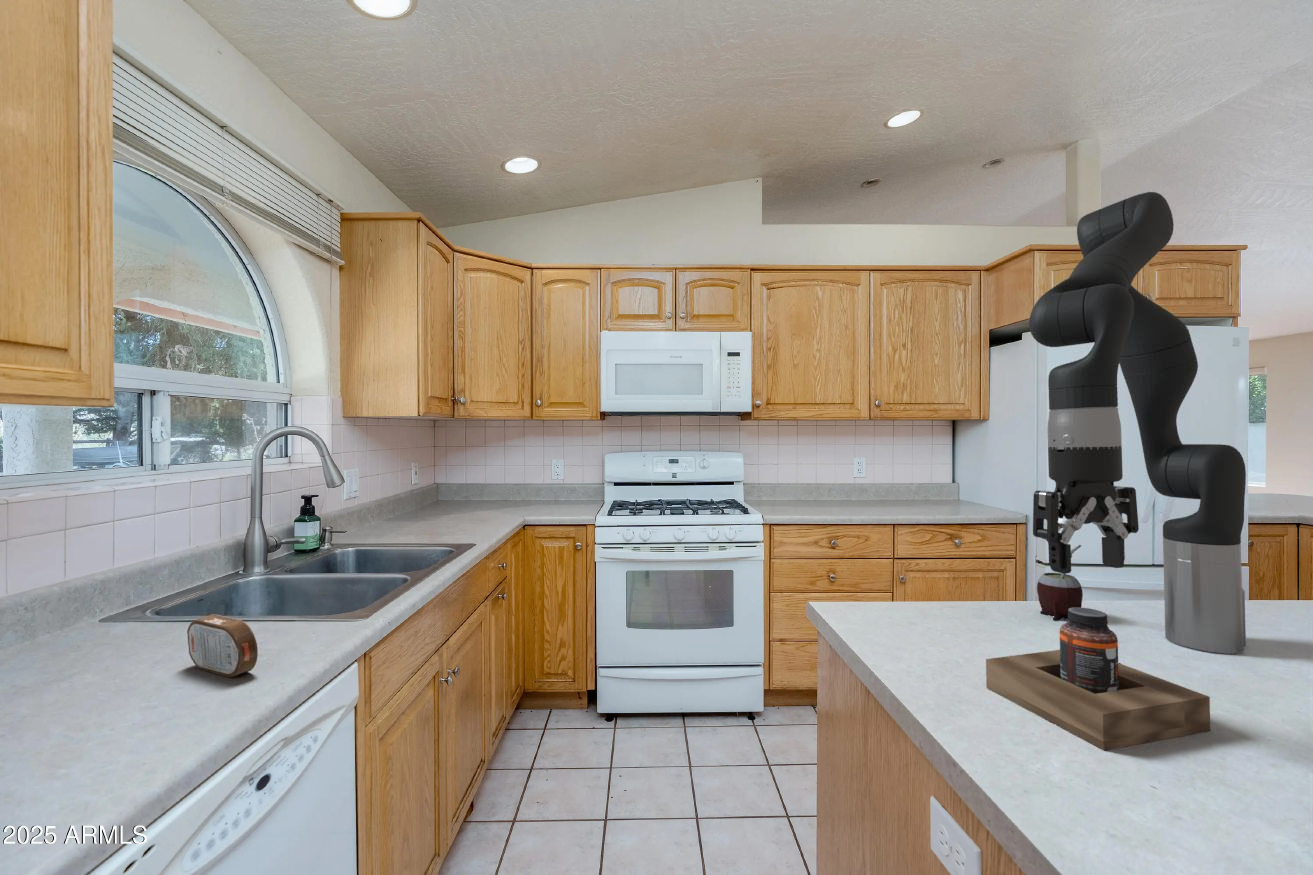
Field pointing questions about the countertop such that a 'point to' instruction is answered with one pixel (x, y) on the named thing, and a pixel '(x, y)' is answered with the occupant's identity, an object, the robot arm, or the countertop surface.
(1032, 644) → the countertop surface
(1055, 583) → the mate gourd
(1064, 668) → the supplement bottle
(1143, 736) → the walnut holder
